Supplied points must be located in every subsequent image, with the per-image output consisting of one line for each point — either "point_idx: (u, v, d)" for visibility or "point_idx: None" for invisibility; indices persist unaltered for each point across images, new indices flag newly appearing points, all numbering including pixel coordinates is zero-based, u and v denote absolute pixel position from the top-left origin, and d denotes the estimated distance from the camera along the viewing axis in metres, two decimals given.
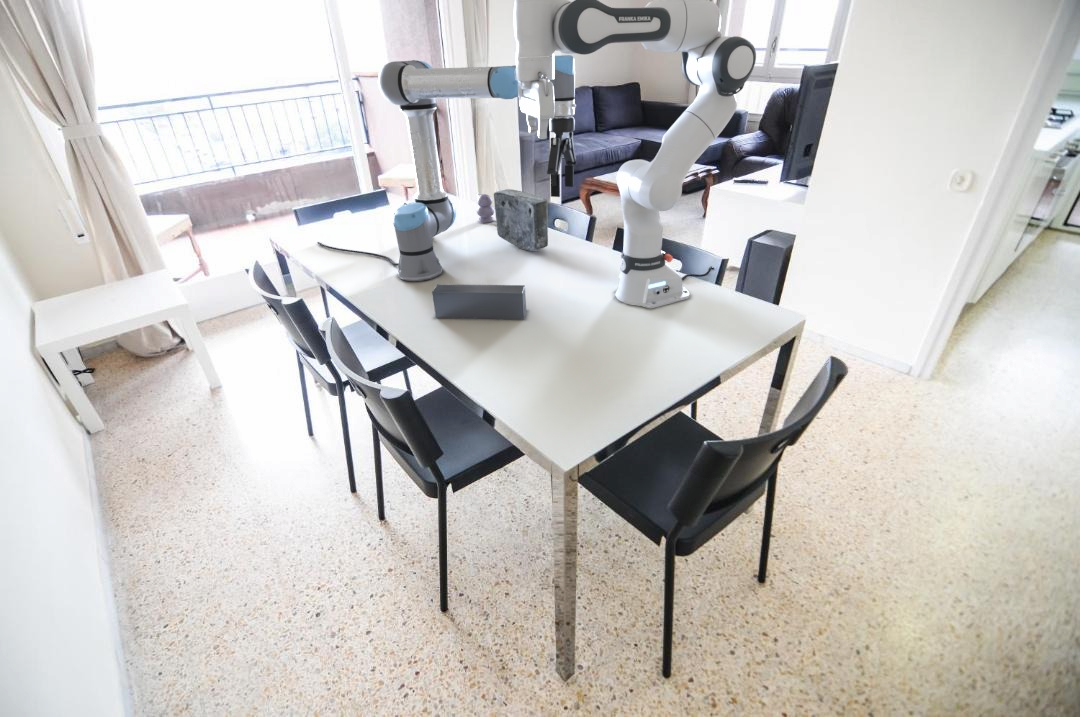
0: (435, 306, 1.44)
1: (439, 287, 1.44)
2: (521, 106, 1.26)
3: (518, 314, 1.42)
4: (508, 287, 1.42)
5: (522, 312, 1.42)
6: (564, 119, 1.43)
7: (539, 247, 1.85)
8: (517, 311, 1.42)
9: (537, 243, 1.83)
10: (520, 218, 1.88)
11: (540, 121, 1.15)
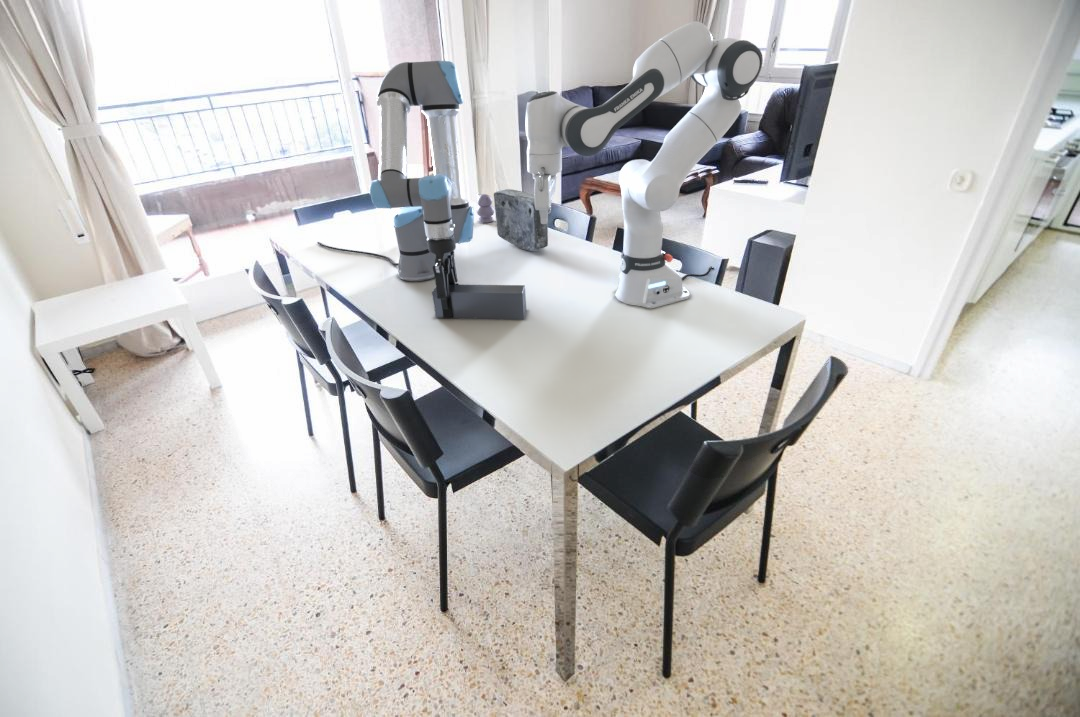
0: (435, 306, 1.44)
1: None
2: None
3: (518, 314, 1.42)
4: (508, 287, 1.42)
5: (522, 312, 1.42)
6: (444, 241, 1.33)
7: (539, 247, 1.85)
8: (517, 311, 1.42)
9: (537, 243, 1.83)
10: (520, 218, 1.88)
11: (540, 210, 1.26)
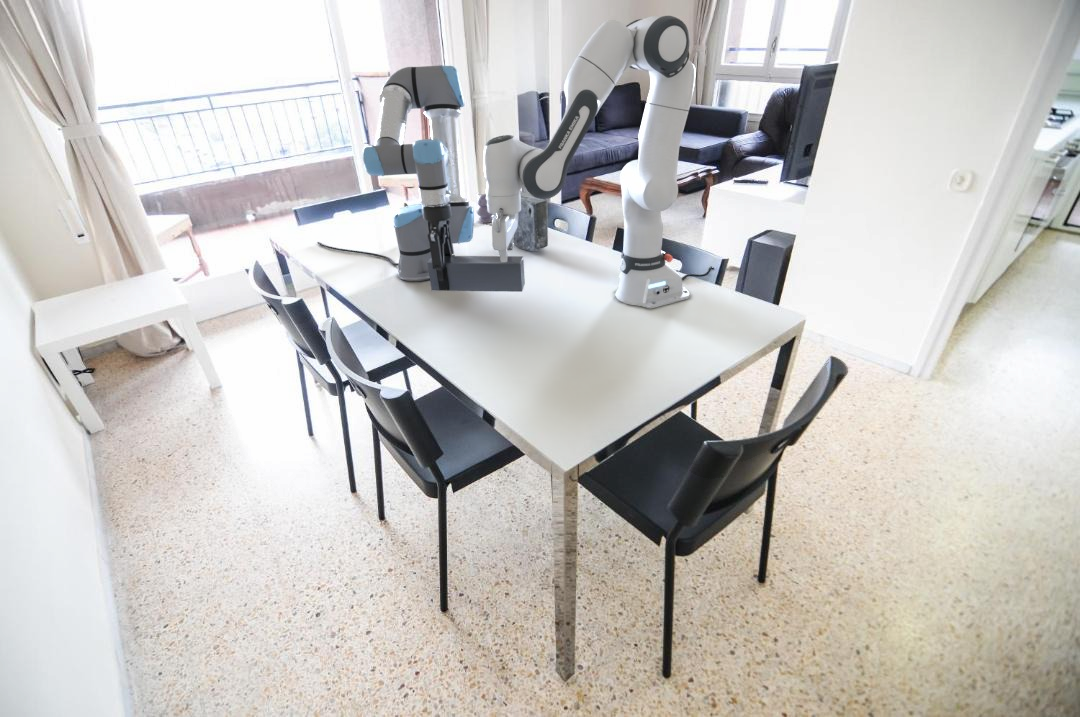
0: (430, 278, 1.39)
1: None
2: None
3: (516, 285, 1.38)
4: None
5: (520, 284, 1.37)
6: (439, 208, 1.28)
7: (539, 247, 1.85)
8: (516, 283, 1.37)
9: (537, 243, 1.83)
10: (520, 218, 1.88)
11: None
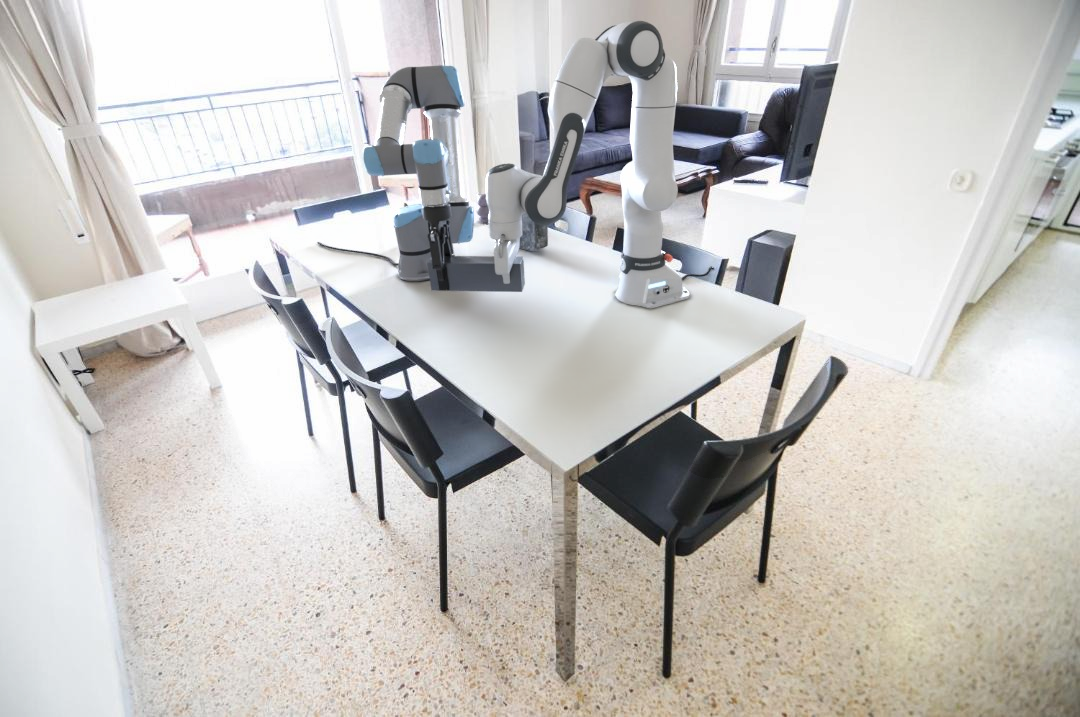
0: (430, 278, 1.39)
1: None
2: None
3: (516, 286, 1.38)
4: None
5: (520, 284, 1.37)
6: (439, 208, 1.28)
7: (539, 247, 1.85)
8: (515, 283, 1.37)
9: (537, 243, 1.83)
10: None
11: None
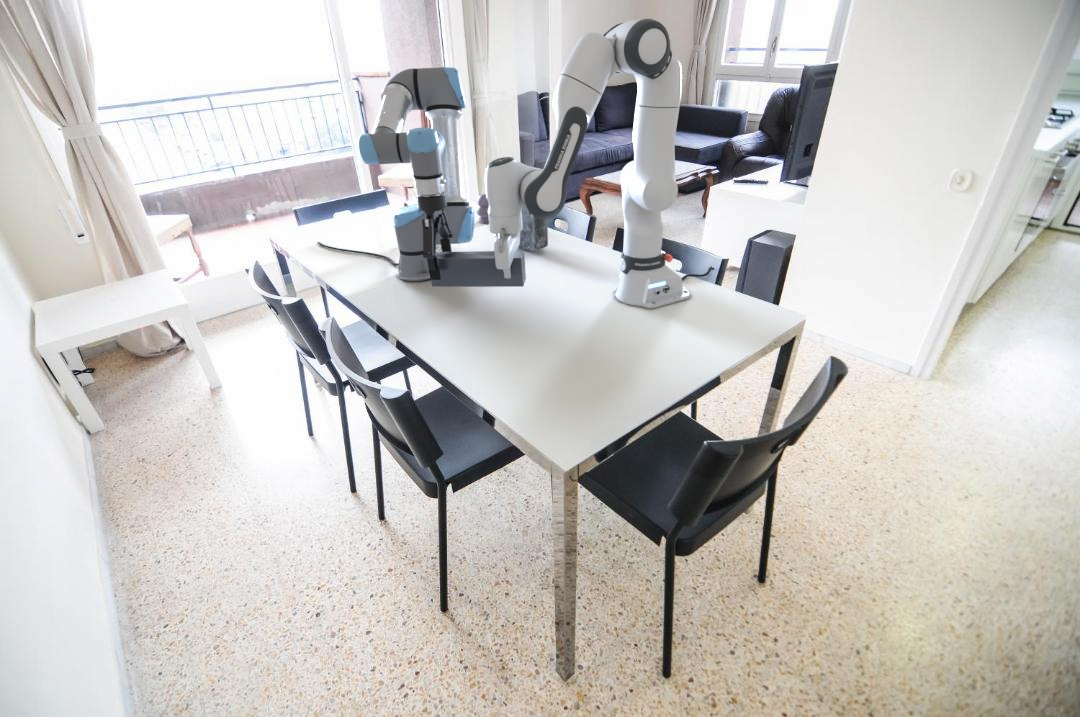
0: None
1: None
2: None
3: (517, 280, 1.37)
4: None
5: (521, 278, 1.36)
6: (434, 197, 1.27)
7: (539, 247, 1.85)
8: (516, 277, 1.36)
9: (537, 243, 1.83)
10: None
11: None
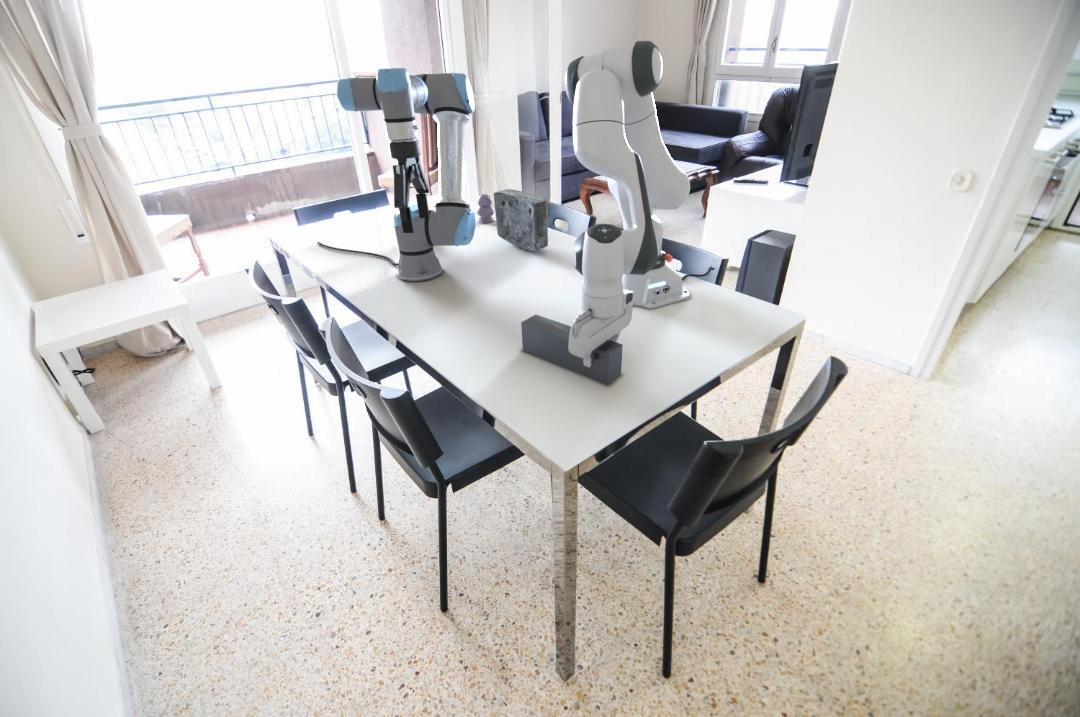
0: (523, 338, 1.26)
1: (533, 318, 1.25)
2: None
3: (602, 377, 1.13)
4: None
5: (607, 376, 1.12)
6: (406, 143, 1.21)
7: (539, 247, 1.85)
8: (602, 374, 1.13)
9: (537, 243, 1.83)
10: (520, 218, 1.88)
11: None
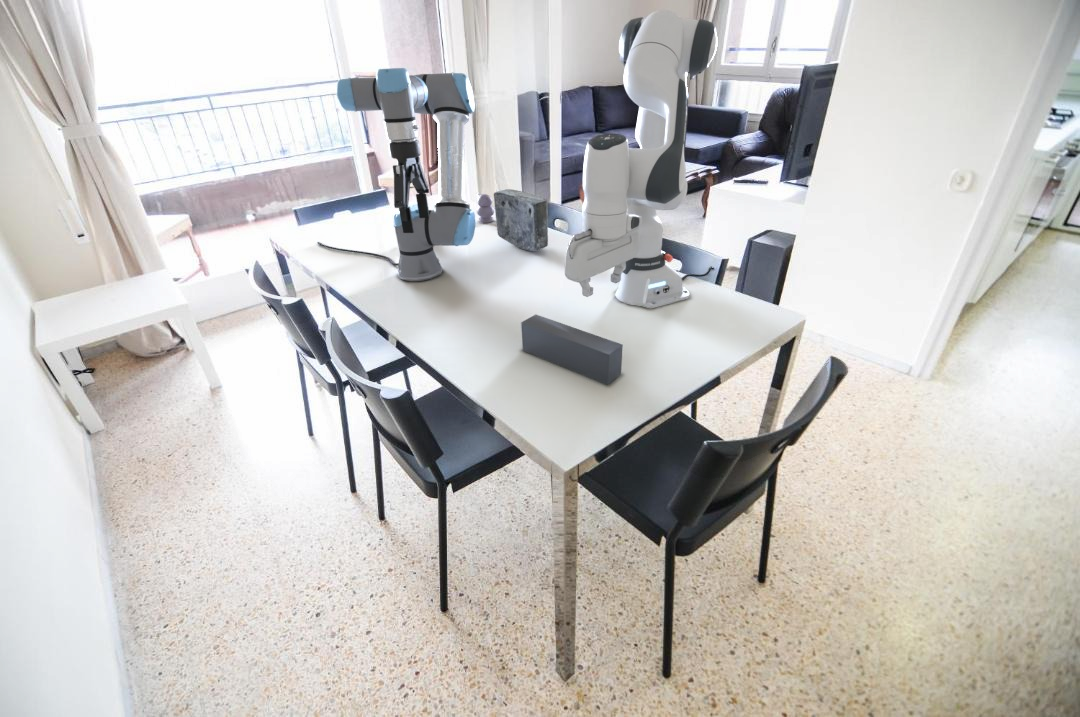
0: (523, 338, 1.26)
1: (533, 318, 1.25)
2: None
3: (602, 377, 1.13)
4: (601, 341, 1.14)
5: (607, 376, 1.12)
6: (406, 143, 1.21)
7: (539, 247, 1.85)
8: (602, 374, 1.13)
9: (537, 243, 1.83)
10: (520, 218, 1.88)
11: None
